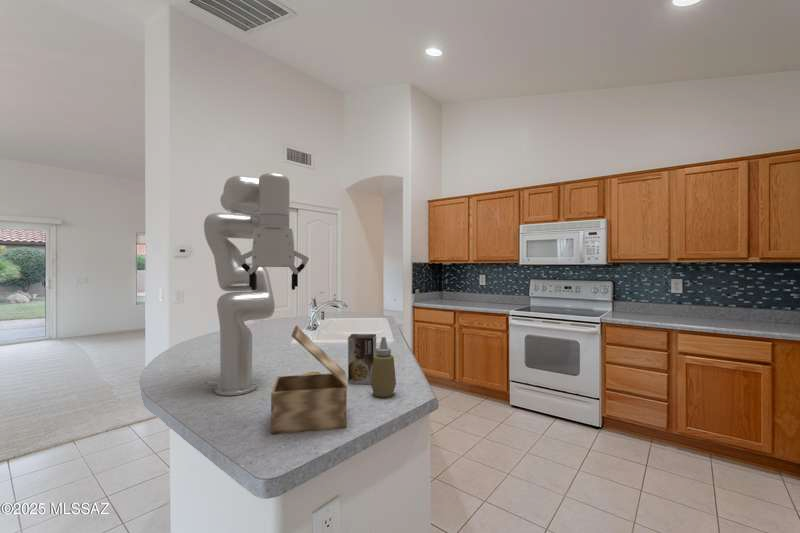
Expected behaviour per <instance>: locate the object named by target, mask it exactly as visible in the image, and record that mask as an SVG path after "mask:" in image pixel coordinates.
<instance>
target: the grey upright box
mask: <svg viewBox="0 0 800 533" xmlns="http://www.w3.org/2000/svg"><path fill="white" fill-rule="evenodd" d="M376 349H377V334H376V333H351V334H350V335H349V336H348V337H347V353H348V354H347V355H348V356H347V358H348V359H347V361H348V362H347V366H348V367H347V370H348V371H347V374H348V375H347V382H348V383H350V384H351V385H371V376H372V366H373V357H374V356H375V355H377V354H376ZM350 384H349V385H350Z"/></svg>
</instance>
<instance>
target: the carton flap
mask: <svg viewBox="0 0 800 533" xmlns="http://www.w3.org/2000/svg"><path fill="white" fill-rule="evenodd" d="M291 337H292V338H293V339H294V340H295V341H296V342H298V344H299V345H301V346H302V347H303V348H304V349H305V351H307V352H308V353H309V354H310V355H311V356H312V357H313V358H315V359H316V361H318V362H319V363H320V364H321V365H322V366H323V367H325V369H327V370H328V372H329V373H332V374H333V375H334V376H335V377H336V378H337V379H338V380H339V381H341V382H342V383H343V384H344V385H345V386H346V387H347V388H348V387H349V384H348V377H347V374H346V371H345V370H344V369H343V368H342V367H341V366H340V365H339V364H338V363H337V362H336V361H335V360H334V359H333V358H331V357H330V356H329V355H328V354H327V353H326V352H325V351H324V350H323V349H322V348H320V347H319V346H318V344H316V342H314V341H313V340H312V339H311V338H310V337H309V336H308V335H307V334H306V333H305V332H303V330H301V328H299V326H298V325H295V326H294V328H293V332H292V334H291Z"/></svg>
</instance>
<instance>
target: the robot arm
mask: <svg viewBox="0 0 800 533" xmlns="http://www.w3.org/2000/svg"><path fill="white" fill-rule="evenodd" d="M219 200H220V204H221V207H222V208H223V209H224V210H225V211H227V212H215V213H210V214H208V215H207V216H206V217H205V219H204V222H203V232H204V237H205V240H206V243H207V245H208V247H209V249H210V251H211V253H212V255H213V258H214V265H215V271H216V277H217V281H218V282H217V283H218V286H219V288H220V289H221V291H225V292H226V293H223V294H222V295H220V297H218V300H216V301H217V303H216V308H217V309H216V310H217V316H218V321H219V336H220V338H219V339H220V340H219V341H220V342H219V345H220V348H219V349H220V350H219V351H220V352H219V354H220V355H219V359H220V360H219V361H220V362H219V364H220V365H219V366H220V367H219V375H218V376H217V377H206V379H205V385H207V386H215V387H214V393H215V394H216V395H218V396H226V397H227V396H231V397H232V396H239V395H245V394H248V393H250V392H252V391H255V390H256V389H257V388H258V382H257V381H256V380H253V333H252V331H251V329H250V328H249V327H248V326H247V324H245V322H247V321H256V320H257V321H258V320H264V319H270V318H271V317H272V316H273V315H274V313H275V308H276V306H275V303H276V302H275V298H274V293H273V290H272V284H271V279H270V276H269V273H268V272H269V271H268V269H267V268H287V267H288V268H289V270H290V271H291V272H292V274H291V290H292V291H295V290H296V287H299V286H298V285H299V284H298V283H299V280H298V279H299V275H298V274H300V273H301V272H302V270H304V269H305V267H306V265H307V264H308V262H309V260H310V259H309V257H308V256H306V255H304V254H302V253H301V252H298V251H297V250H295V240H294V231H293V228H290V179H289V178H288V177H287V176H286V175H285V174H280V173H273V172H272V173H271V172H269V173H263V174H261V175H259V178H258V177H254V176H253V177H251V176H246V175H234V176H233V175H232V176H231V177H229V178H227V179H226V181H225V183H224V187H223V192H222V194H221V196H220V198H219ZM230 239H246V240H247V239H248V240H250V239H251V240H252V248H251V249H252V250H250V251H248V252H246V253H245V252H244V254H242V252H241V251H240V249H239V248H238V247H237V246H236V245H235V243H233V242H232V241H230ZM295 257H296V258H299V259H301V260H302V261H301V263H300V264H299V265H298V266H297V267H296V266H295V260H296V259H295ZM250 258H251V263H249V262H248V263H247V259H250Z"/></svg>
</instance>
